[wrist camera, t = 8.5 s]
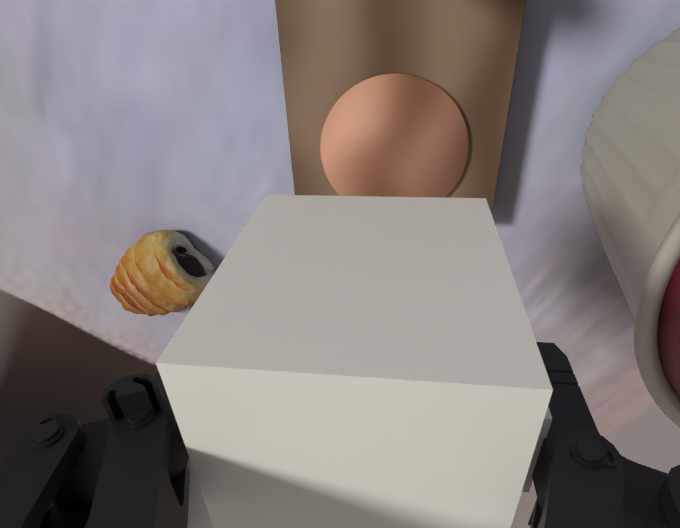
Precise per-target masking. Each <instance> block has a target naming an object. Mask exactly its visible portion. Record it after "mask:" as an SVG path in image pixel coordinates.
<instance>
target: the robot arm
mask: <svg viewBox="0 0 680 528" xmlns="http://www.w3.org/2000/svg"><path fill="white" fill-rule="evenodd" d="M536 343H537V346H538V348H539V351H540V354H541V357H542V360H543V363H544V366H545V368H546V371H547V374H548V377H549V380H550V383H551V386H552V388H553V392H552V395H551V398H550V401H549V405H548V408H547V411H546V414H545V418H544V421H543V424H542V427H541V430H540V434H539V437H538V440H537V443H536V447H535V450H534V453H533V456H532V460H531V463H530V466H529V469H528V473H527V476H526V479H525V482H524V486H523V489H522V492H529V490H530V487H531V483H532V480H533V481H534V485H535V490H536V494H537V500H536V503H535V506H534V509H533V511H532V514H531V517H530V520H529V523H528V525H531V528H680V465H678V466H676V467H673V468H671V470H670V472H669V473H668V474H667V473H664V472H661V471H658V470H655V469H652V468H650V467H647V466H644V465H641V464H638V463H635V462H633V461H631V460H628V459H626V458H625V457H623V456H621V455H620V454H619V452H618V451H617V449H616V448H615V447H614V445H613V444H611V443H610V442H609V441H608V440H606V439H605V438H604V437H603V436H601V435H600V434H599V432H598V430H597V428H596V425H595V423H594V421H593V418H592V416H591V413H590V411H589V409H588V406H587V404H586V401H585V399H584V397H583V394H582V392H581V389H580V387H579V386H578V382H577V380H576V377H575V375H574V374H573V370H572V368H571V365H570V363H569V361H568V358H567V356H566V355H565V354H564V353H563V352H562V351H561V350H560V349H559V348H558V347H557V346H556V345H555V344H554V343H543V342H536ZM101 401H102V403H103V405H104V407H105V410H106V412H107V414H108V416H109V419H105V420H100V421H95V422H89V423H85V424H80V422H79V421H78V419H77V418H76V417H75V416H74V415H73V414H69V413H57V414H52V415H49V416H47V417H45V418H42V419H40V420H39V421H38V422H36V423H34V424H33V425H32V426H30V427H29V428H28V429H27V430H26V431H25V433H24V434H23V435H22V436H21V437H20V439H19V440H18V441H17V443H16V444H15V446H14V447H13V449H12V450H11V451H10V453H9V454H8V456H7V457H6V458H5V460H4V461H3V463H2V464H1V466H0V528H187V522H188V501H189V482H190V471H189V466H188V463H187V461H188V459H189V455H188V452H187V450H186V447H185V444H184V441H183V438H182V436H181V433H180V430H179V427H178V424H177V421H176V419H175V416H174V413H173V410H172V407H171V404H170V402H169V399H168V396H167V393H166V390H165V387H164V385H163V382H162V379H161V376H160V373H159V371H158V373H157V374H156V375H155V377H153V376H152V375H149V374H145V373H139V374H132V375H129V376H125V377H123V378H121V379H119V380H118V381H116V382H114V383H113V384H112V385H111V386H110V387H109V388H107V389H106V390H105V392H104V394H103V396H102V398H101Z"/></svg>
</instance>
